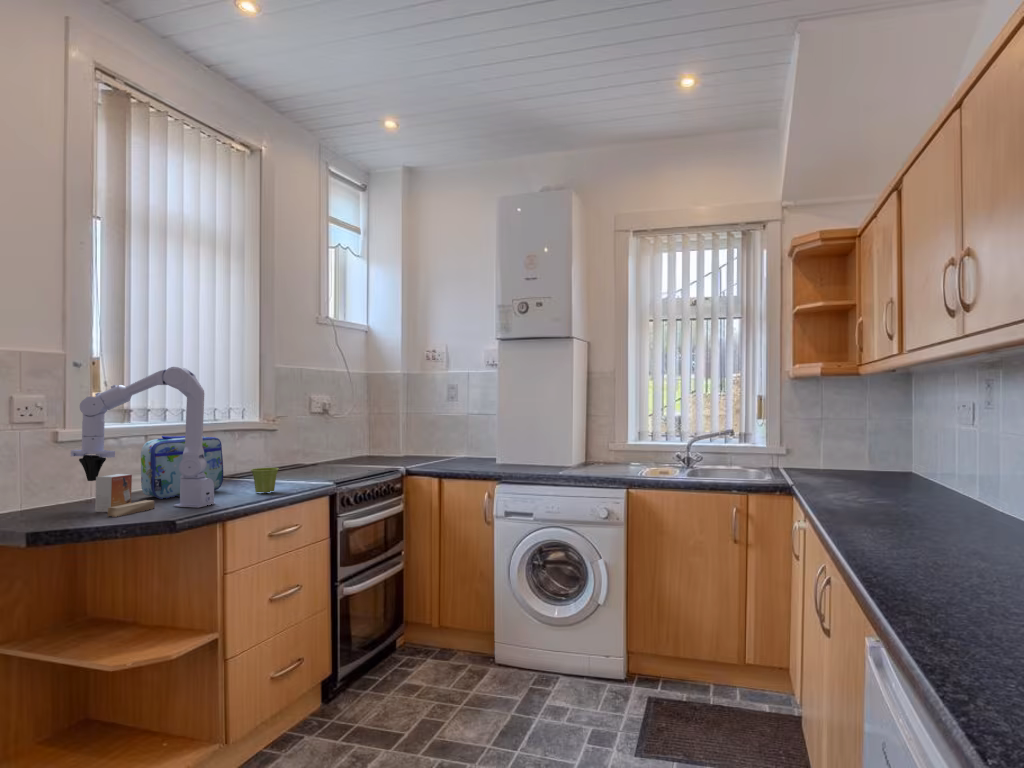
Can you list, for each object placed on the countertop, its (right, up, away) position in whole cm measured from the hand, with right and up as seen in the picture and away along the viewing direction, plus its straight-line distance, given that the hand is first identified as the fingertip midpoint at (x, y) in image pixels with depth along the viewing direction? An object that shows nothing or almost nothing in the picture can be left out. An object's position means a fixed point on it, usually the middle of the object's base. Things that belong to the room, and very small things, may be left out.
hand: (92, 480), depth 194 cm
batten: (+16, -9, -6) cm, 19 cm away
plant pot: (+40, -10, +34) cm, 53 cm away
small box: (+8, -9, -2) cm, 12 cm away
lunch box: (+13, -10, +29) cm, 33 cm away
